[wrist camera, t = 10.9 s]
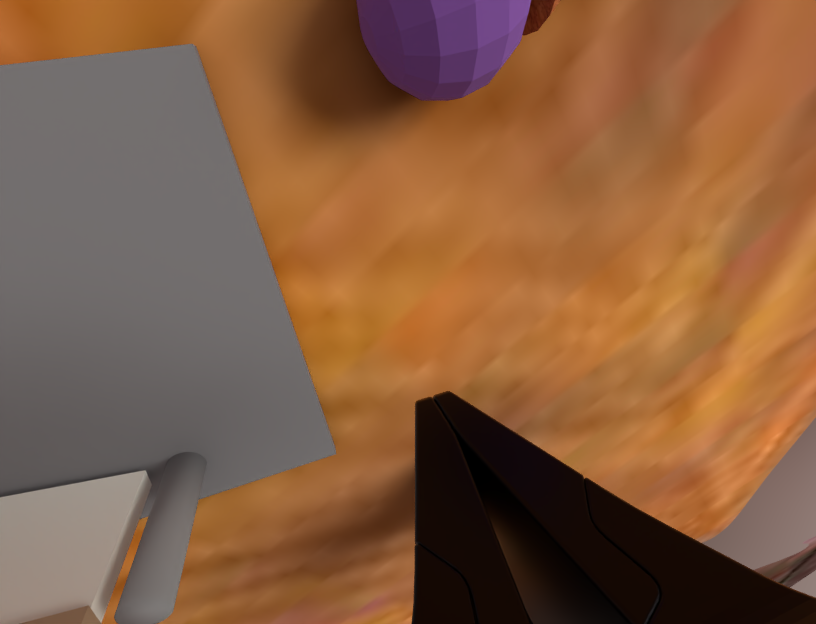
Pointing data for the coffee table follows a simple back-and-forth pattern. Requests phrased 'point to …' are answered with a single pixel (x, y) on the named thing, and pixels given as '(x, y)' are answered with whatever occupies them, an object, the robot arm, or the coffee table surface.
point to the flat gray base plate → (139, 302)
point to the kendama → (446, 41)
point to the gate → (67, 548)
